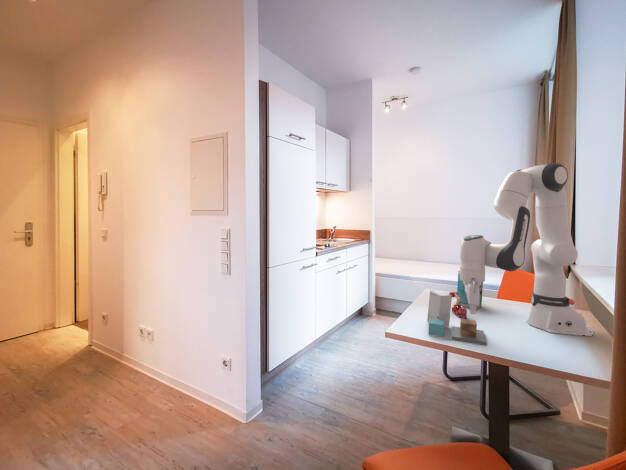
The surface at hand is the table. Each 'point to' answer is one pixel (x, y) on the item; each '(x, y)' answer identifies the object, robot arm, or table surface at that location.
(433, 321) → the teal block
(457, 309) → the toy fire truck
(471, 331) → the walnut brick
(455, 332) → the baseplate
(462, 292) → the food can
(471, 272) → the robot arm
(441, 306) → the skincare box
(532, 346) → the table surface
